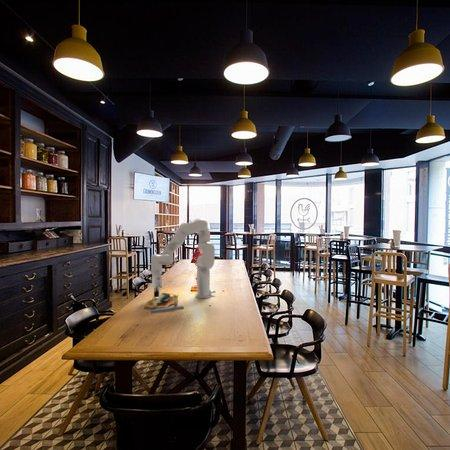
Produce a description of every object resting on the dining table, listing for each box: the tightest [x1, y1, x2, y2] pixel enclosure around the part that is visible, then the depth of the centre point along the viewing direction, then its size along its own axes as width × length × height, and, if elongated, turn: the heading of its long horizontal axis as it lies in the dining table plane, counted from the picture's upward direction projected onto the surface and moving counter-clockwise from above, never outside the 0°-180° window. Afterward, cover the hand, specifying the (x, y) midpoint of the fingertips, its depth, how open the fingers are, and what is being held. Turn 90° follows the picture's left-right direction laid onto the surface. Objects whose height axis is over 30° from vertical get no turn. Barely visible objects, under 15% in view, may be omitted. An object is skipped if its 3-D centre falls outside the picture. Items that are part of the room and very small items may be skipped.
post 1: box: [151, 296, 158, 309], centre depth 202 cm, size 4×4×9 cm
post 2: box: [172, 293, 180, 306], centre depth 209 cm, size 4×4×9 cm
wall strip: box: [149, 304, 185, 314], centre depth 203 cm, size 22×3×2 cm, turn 118°
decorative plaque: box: [144, 292, 174, 310], centre depth 219 cm, size 30×7×20 cm
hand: (156, 297), depth 224 cm, fingers closed
